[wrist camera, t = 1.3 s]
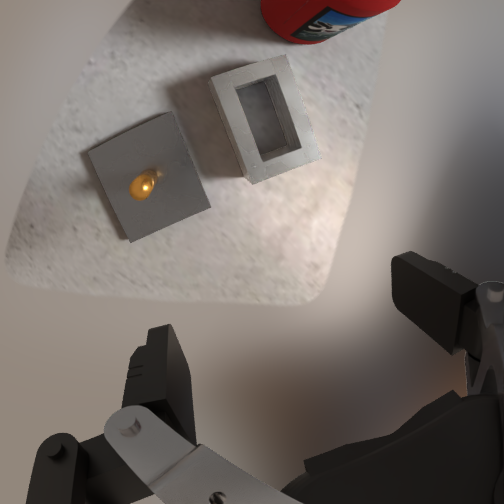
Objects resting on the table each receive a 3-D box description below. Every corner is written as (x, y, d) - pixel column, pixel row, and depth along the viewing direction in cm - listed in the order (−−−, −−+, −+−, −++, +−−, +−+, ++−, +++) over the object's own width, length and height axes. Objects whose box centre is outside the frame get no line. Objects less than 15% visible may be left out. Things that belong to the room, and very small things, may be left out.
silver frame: (207, 84, 22) (211, 77, 19) (272, 63, 22) (285, 54, 19) (244, 177, 25) (252, 184, 22) (305, 154, 25) (321, 158, 22)
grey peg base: (91, 151, 22) (67, 157, 17) (171, 111, 22) (167, 107, 17) (132, 239, 25) (120, 265, 20) (210, 204, 25) (216, 223, 21)
